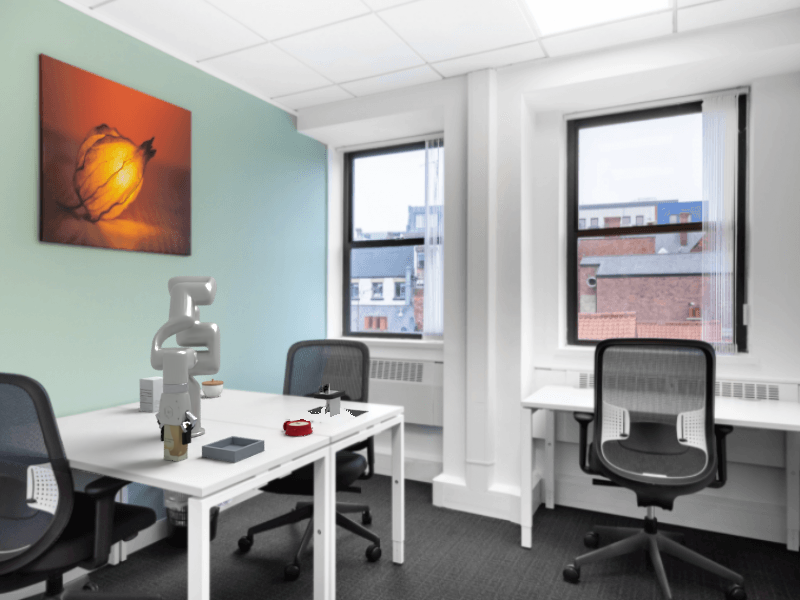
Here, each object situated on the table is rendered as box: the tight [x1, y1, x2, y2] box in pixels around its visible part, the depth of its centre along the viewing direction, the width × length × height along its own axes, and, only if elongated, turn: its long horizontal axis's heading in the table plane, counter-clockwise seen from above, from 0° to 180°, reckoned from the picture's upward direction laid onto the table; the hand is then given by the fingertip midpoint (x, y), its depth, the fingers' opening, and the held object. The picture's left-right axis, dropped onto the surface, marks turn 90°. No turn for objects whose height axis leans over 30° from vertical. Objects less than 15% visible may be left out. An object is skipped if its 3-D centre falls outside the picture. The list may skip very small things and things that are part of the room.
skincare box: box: [163, 424, 189, 462], centre depth 169 cm, size 6×4×12 cm
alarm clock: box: [282, 419, 314, 437], centre depth 203 cm, size 10×6×15 cm
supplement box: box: [139, 375, 163, 413], centre depth 243 cm, size 9×9×15 cm
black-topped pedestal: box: [307, 383, 369, 418], centre depth 232 cm, size 28×26×13 cm
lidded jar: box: [201, 378, 224, 399], centre depth 276 cm, size 11×11×9 cm
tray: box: [201, 435, 265, 463], centre depth 175 cm, size 14×14×4 cm
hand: (175, 442), depth 169 cm, fingers open, 9 cm apart
